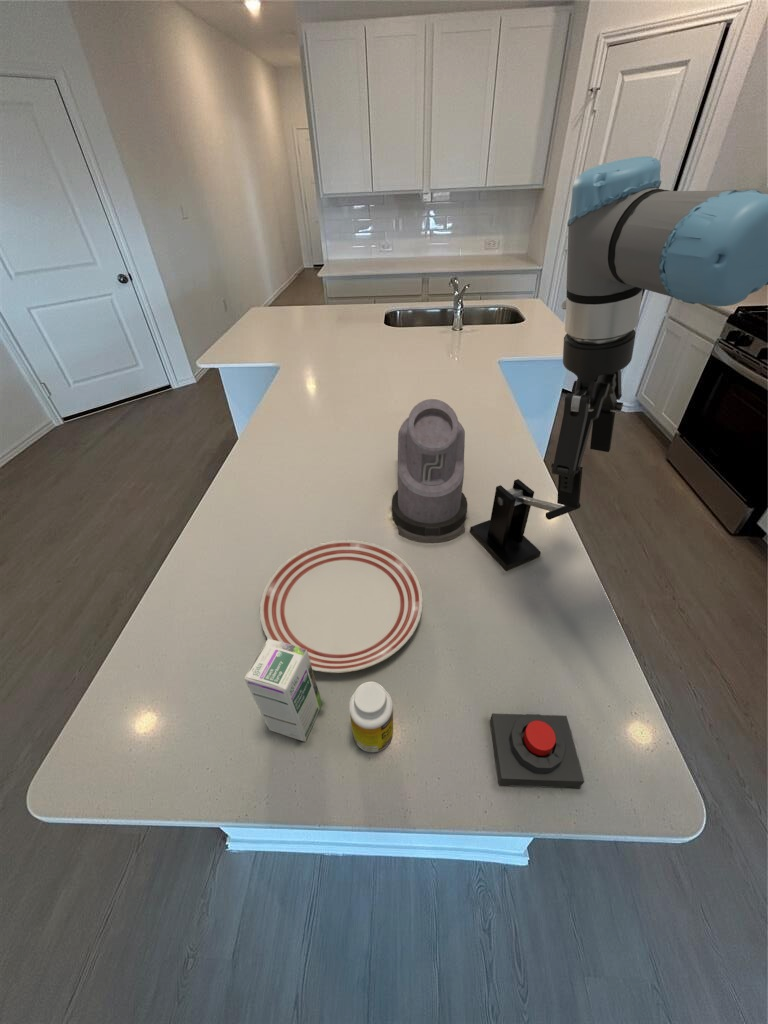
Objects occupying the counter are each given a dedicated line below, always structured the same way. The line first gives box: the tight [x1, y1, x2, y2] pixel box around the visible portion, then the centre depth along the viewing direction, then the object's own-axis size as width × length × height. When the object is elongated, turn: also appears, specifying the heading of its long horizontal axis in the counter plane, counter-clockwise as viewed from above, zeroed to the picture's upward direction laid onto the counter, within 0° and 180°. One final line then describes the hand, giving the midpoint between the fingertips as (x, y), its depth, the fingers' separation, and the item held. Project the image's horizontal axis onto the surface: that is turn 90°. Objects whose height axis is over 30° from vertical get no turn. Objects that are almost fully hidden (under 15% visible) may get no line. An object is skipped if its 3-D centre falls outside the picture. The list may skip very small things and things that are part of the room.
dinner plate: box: [259, 539, 424, 674], centre depth 75 cm, size 28×27×3 cm
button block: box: [489, 713, 585, 789], centre depth 57 cm, size 10×8×4 cm
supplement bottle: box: [348, 681, 394, 753], centre depth 57 cm, size 6×6×10 cm
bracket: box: [469, 478, 542, 572], centre depth 83 cm, size 12×8×14 cm, turn 26°
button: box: [523, 721, 556, 756], centre depth 55 cm, size 4×4×2 cm
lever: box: [506, 487, 581, 520], centre depth 74 cm, size 14×6×2 cm, turn 26°
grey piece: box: [391, 398, 468, 544], centre depth 91 cm, size 30×16×24 cm, turn 0°
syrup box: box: [243, 638, 323, 743], centre depth 58 cm, size 6×6×14 cm
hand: (584, 475), depth 64 cm, fingers open, 13 cm apart
